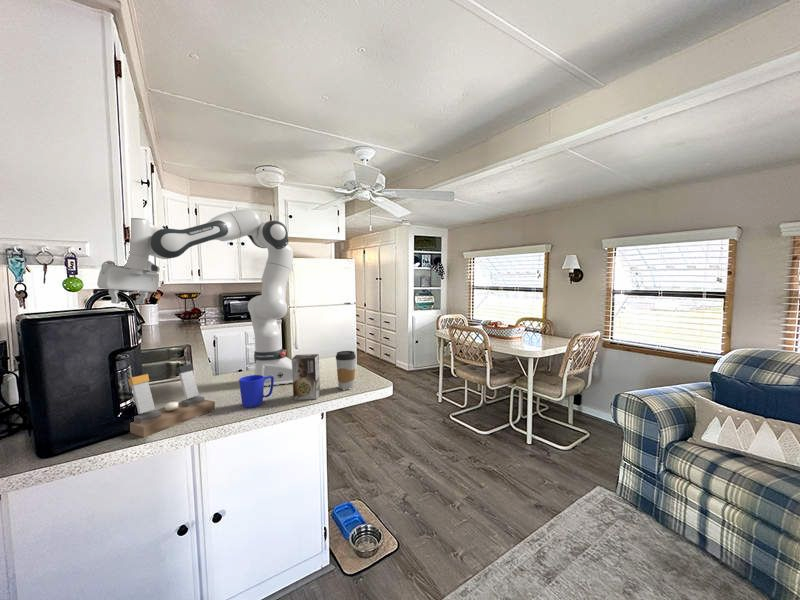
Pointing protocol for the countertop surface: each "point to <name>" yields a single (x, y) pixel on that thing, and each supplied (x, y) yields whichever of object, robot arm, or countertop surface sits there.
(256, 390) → the mug
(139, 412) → the lever
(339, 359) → the coffee cup
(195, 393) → the lever
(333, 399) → the countertop surface
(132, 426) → the control board
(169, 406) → the push button
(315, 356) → the coffee box
